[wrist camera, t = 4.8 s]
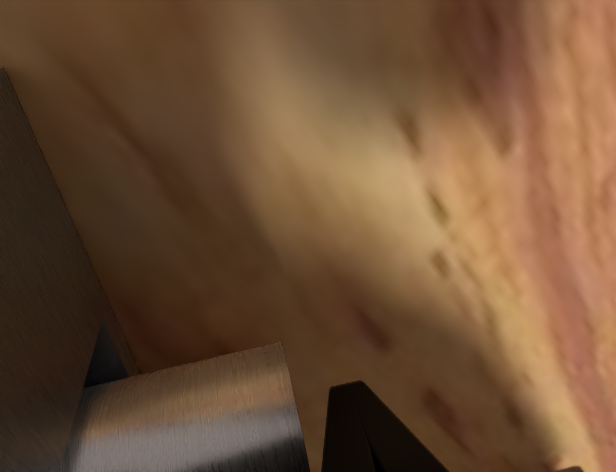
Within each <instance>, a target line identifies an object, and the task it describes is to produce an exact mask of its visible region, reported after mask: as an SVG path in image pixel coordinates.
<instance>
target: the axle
mask: <svg viewBox="0 0 616 472" xmlns="http://www.w3.org/2000/svg"><path fill="white" fill-rule="evenodd" d="M59 472H310V469H309V464H308V459H307V454H306V449H305V444H304V439H303V435H302V430H301V425H300V420H299V416H298V411H297V406H296V402H295V397H294V393H293V388H292V384H291V379H290V375H289V370H288V366H287V362H286V358H285V353H284V349H283V346H282V342H278V343H274V344H269V345H265V346H261V347H257V348H252V349H248V350H244V351H239V352H235V353H231V354H227V355H222V356H218V357H214V358H210V359H205V360H201V361H197V362H192V363H188V364H184V365H180V366H175V367H171V368H167V369H163V370H158V371H154V372H150V373H145V374H141V375H137V376H133V377H128V378H124V379H120V380H116V381H111V382H107V383H103V384H98V385H94V386H90V387H86V388H83V389H82V393H81V396H80V400H79V403H78V407H77V410H76V414H75V417H74V421H73V424H72V428H71V431H70V435H69V438H68V442H67V445H66V449H65V452H64V456H63V459H62V463H61V466H60V470H59Z"/></svg>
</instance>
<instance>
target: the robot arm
mask: <svg viewBox="0 0 616 472" xmlns="http://www.w3.org/2000/svg"><path fill="white" fill-rule="evenodd" d="M321 472H449V471H448V470H447V469H446V468H445V467H444V466H443V464H442V463H441V462H440V461H439V460H438V459H437V458H436V457H435V456H434V455H433V454H432V453H431V452H430V451H429V450H428V449H427V448H426V447H425V446H424V445H423V444H422V442H421V441H420V440H419V439H418V438H417V437H416V436H415V435H414V434H413V433H412V432H411V431H410V430H409V429H408V428H407V427H406V426H405V425H404V424H403V423H402V422H401V420H400V419H399V418H398V417H397V416H396V415H395V414H394V413H393V412H392V411H391V410H390V409H389V408H388V407H387V406H386V405H385V404H384V403H383V402H382V401H381V400H380V398H379V397H378V396H377V395H376V394H375V393H374V392H373V391H372V390H371V389H370V388H369V387H368V386H367V385H366V384H365V383H364V382H363V381H354V382H349V383H346V384H340V385H336V386H332V387H330V389H329V397H328V407H327V418H326V428H325V439H324V449H323V459H322V470H321Z"/></svg>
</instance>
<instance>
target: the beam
mask: <svg viewBox="0 0 616 472" xmlns="http://www.w3.org/2000/svg"><path fill="white" fill-rule="evenodd" d="M137 375H140V372H139V370H138V368H137V366H136V363H135V361H134V359H133V357H132V354H131V352H130V350H129V348H128V345H127V343H126V341H125V339H124V336H123V334H122V332H121V330H120V327H119V325H118V323H117V321H116V318H115V316H114V314H113V312H112V309H111V307H110V305H109V303H108V300H107V298H106V296H105V294H104V291H103V289H102V287H101V285H100V282H99V280H98V278H97V276H96V274H95V271H94V269H93V267H92V265H91V262H90V260H89V258H88V256H87V253H86V251H85V249H84V247H83V244H82V242H81V240H80V238H79V235H78V233H77V231H76V229H75V226H74V224H73V222H72V220H71V217H70V215H69V213H68V211H67V208H66V206H65V204H64V202H63V199H62V197H61V195H60V193H59V190H58V188H57V186H56V184H55V181H54V179H53V177H52V175H51V172H50V170H49V168H48V166H47V163H46V161H45V159H44V157H43V154H42V152H41V150H40V148H39V145H38V143H37V141H36V139H35V136H34V134H33V132H32V130H31V127H30V125H29V123H28V121H27V118H26V116H25V114H24V112H23V109H22V107H21V105H20V103H19V100H18V98H17V96H16V94H15V91H14V89H13V87H12V85H11V82H10V80H9V78H8V76H7V73H6V71H5V69H4V67H0V472H59V470H60V466H61V463H62V459H63V456H64V452H65V449H66V445H67V442H68V438H69V435H70V431H71V428H72V424H73V421H74V417H75V414H76V410H77V407H78V403H79V400H80V396H81V393H82V389H83V388H86V387H90V386H94V385H98V384H103V383H107V382H111V381H116V380H120V379H124V378H128V377H133V376H137Z"/></svg>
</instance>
